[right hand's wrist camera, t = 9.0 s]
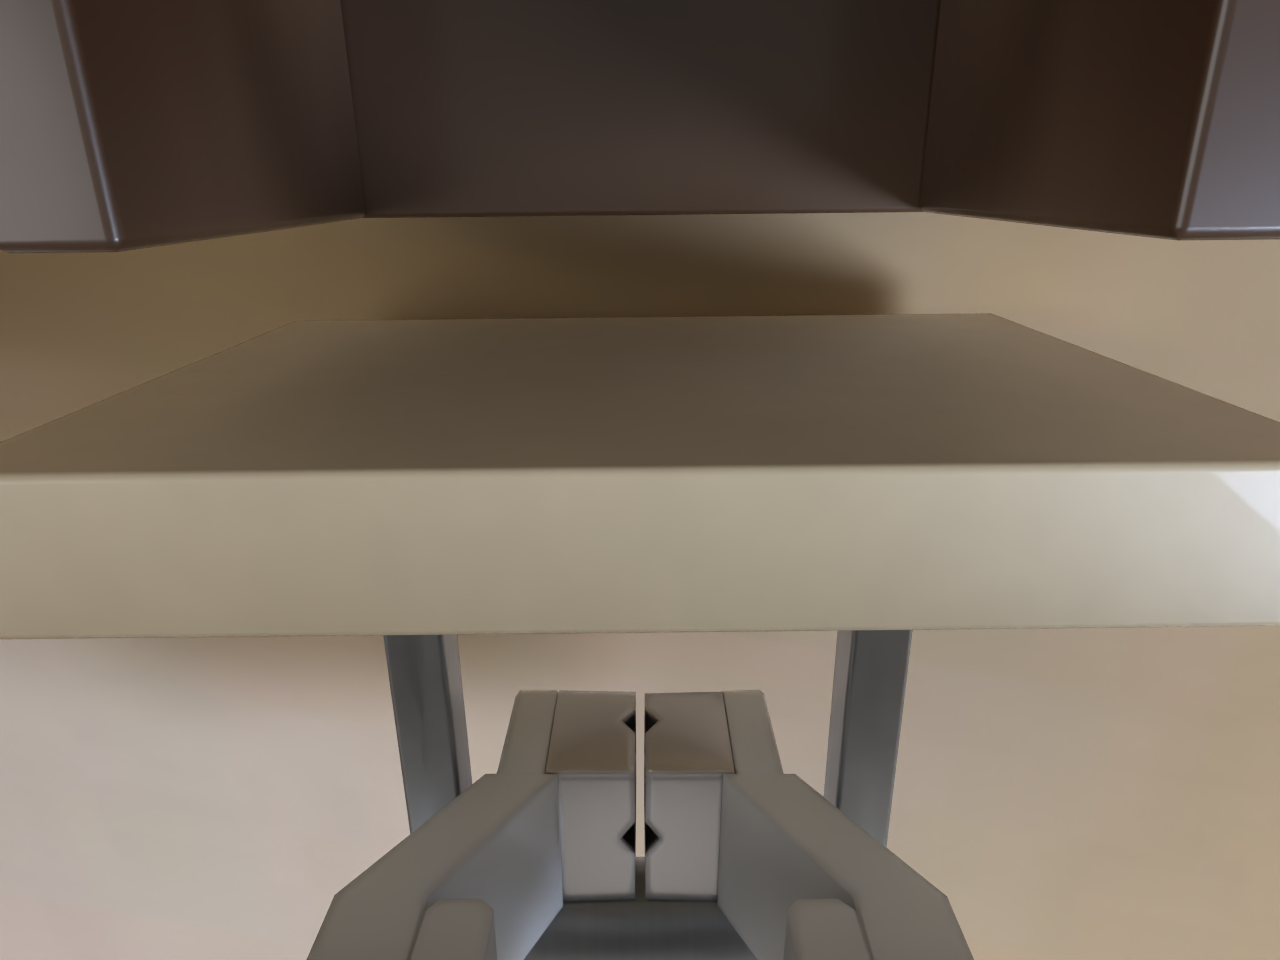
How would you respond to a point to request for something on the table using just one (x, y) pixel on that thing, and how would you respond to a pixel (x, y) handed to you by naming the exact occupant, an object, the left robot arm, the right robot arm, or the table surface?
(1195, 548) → the drawer
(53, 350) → the table surface
